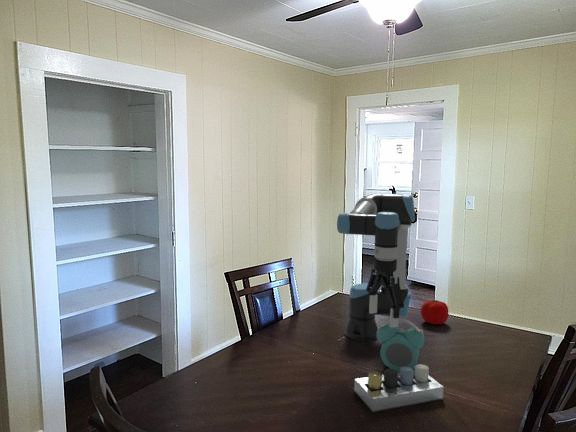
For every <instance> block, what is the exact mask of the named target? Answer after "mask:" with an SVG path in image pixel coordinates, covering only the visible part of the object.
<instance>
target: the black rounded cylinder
mask: <svg viewBox="0 0 576 432" xmlns="http://www.w3.org/2000/svg"><path fill="white" fill-rule="evenodd" d="M383 375H384V386H385V387H386V388H387V389H391V388H397V382H398V371H396V370H393V369H390V368H387V369H385V370H384V372H383Z"/></svg>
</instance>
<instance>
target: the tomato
mask: <svg viewBox="0 0 576 432" xmlns="http://www.w3.org/2000/svg"><path fill="white" fill-rule="evenodd" d="M420 315H421V317H422V319H423V321H425V323H429V324H431V325H437V326H438V325H442V324H444V323H446V322H447V321H448V318H449V307H448V305H447V303H445V302H444V301H440V300H436V299H434V300H433V299H431V300H428V301H425V302H424V303H423V304H422V305H421V308H420Z"/></svg>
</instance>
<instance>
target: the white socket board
mask: <svg viewBox="0 0 576 432" xmlns="http://www.w3.org/2000/svg"><path fill="white" fill-rule="evenodd" d="M413 370H414V372H413V385H409V386H403V385H402V384H401V383H400V372H398V371H397V372H398V382H397V388H391V389H387V388H386V387H385V386H384V374H381V375H382V384H381V390H379V391H373V392H371V391H370V390H369V389H368V376H365V377H360V378H359V377H357V378H355V379H354V389H353V391H354V393H355V395H357V396H358V398H360V400H361V401H362V402H363V403H364V404H365V405H366V407H367V408H368V409H369V410H370V411H371V412H372V413H378V412H383V411H389V410H393V409H394V410H395V409H398V408H405V407H410V406H416V405H421V404H427V403H431V402H436V401H443V400H444V389H445V388H444V385H442V384H440V383H439V382H438V381H437V380H436V379H434V378H433V377H432V376H431V375H429V376H428V382H427V383H421V384H419V383H418V382H417V381H416V380H415V369H413Z"/></svg>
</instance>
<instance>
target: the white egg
mask: <svg viewBox="0 0 576 432" xmlns="http://www.w3.org/2000/svg"><path fill="white" fill-rule="evenodd" d="M414 370H415V380H416V381H417V382H418V383H419V384H421V383H427V382H428V376H430V375H429V374H430V371H429V370H430V368H429V366H428V365H426V364H421V363H419V364H418V363H417V364H416V365H415V368H414Z"/></svg>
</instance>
